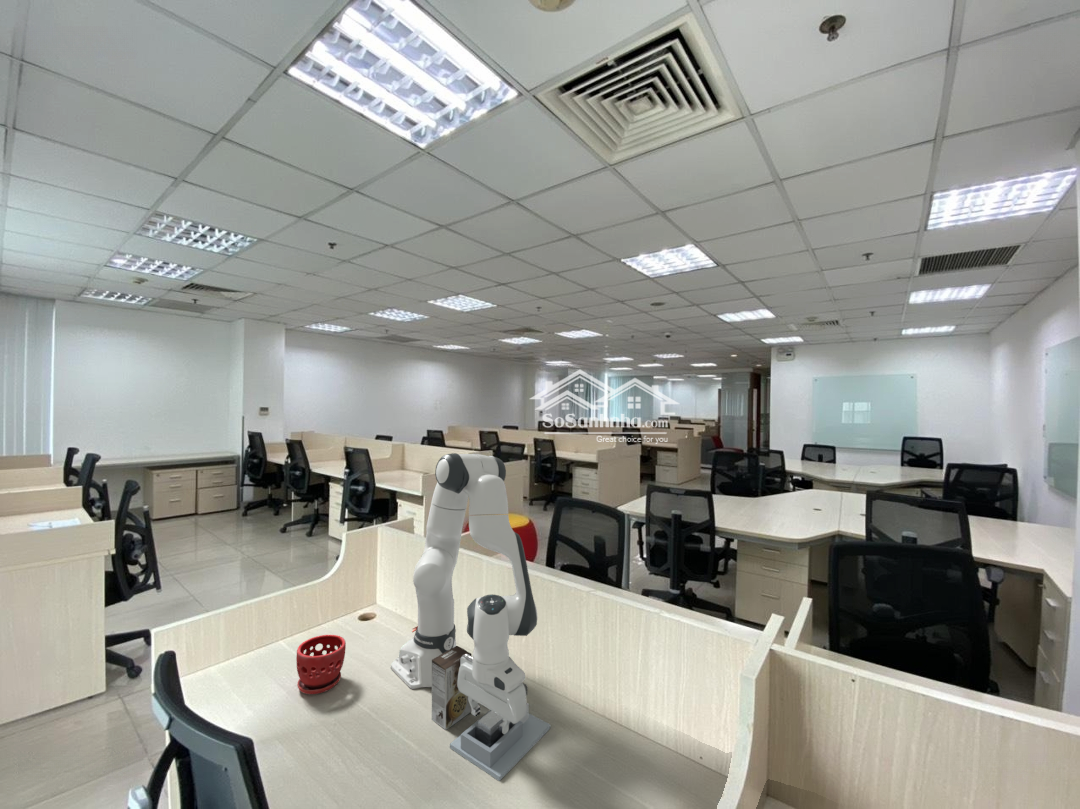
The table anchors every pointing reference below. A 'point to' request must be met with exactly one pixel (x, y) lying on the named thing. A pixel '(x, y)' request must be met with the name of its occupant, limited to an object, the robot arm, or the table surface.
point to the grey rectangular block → (489, 729)
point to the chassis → (501, 745)
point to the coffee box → (448, 689)
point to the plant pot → (320, 664)
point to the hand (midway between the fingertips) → (489, 722)
